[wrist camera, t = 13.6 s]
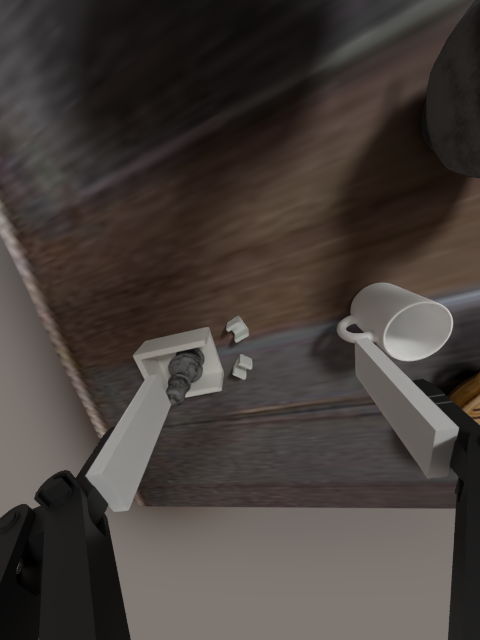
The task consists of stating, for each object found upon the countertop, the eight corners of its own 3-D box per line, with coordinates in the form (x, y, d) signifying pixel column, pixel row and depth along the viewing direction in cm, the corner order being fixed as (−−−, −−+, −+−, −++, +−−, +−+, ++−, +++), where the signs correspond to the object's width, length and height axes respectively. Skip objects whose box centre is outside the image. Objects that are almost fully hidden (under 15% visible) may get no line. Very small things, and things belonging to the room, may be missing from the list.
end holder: (145, 340, 41) (132, 355, 36) (208, 326, 40) (204, 340, 35) (165, 384, 45) (156, 403, 40) (224, 373, 43) (221, 390, 39)
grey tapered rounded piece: (192, 338, 40) (172, 381, 29) (212, 361, 42) (201, 411, 31) (167, 354, 41) (139, 401, 30) (188, 376, 43) (168, 428, 32)
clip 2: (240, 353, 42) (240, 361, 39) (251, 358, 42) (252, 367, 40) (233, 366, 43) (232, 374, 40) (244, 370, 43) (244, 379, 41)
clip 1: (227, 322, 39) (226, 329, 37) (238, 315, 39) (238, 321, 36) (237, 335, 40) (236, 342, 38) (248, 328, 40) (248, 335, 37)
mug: (331, 340, 40) (358, 376, 31) (321, 298, 37) (348, 323, 28) (402, 319, 39) (453, 351, 29) (397, 273, 36) (453, 292, 26)
